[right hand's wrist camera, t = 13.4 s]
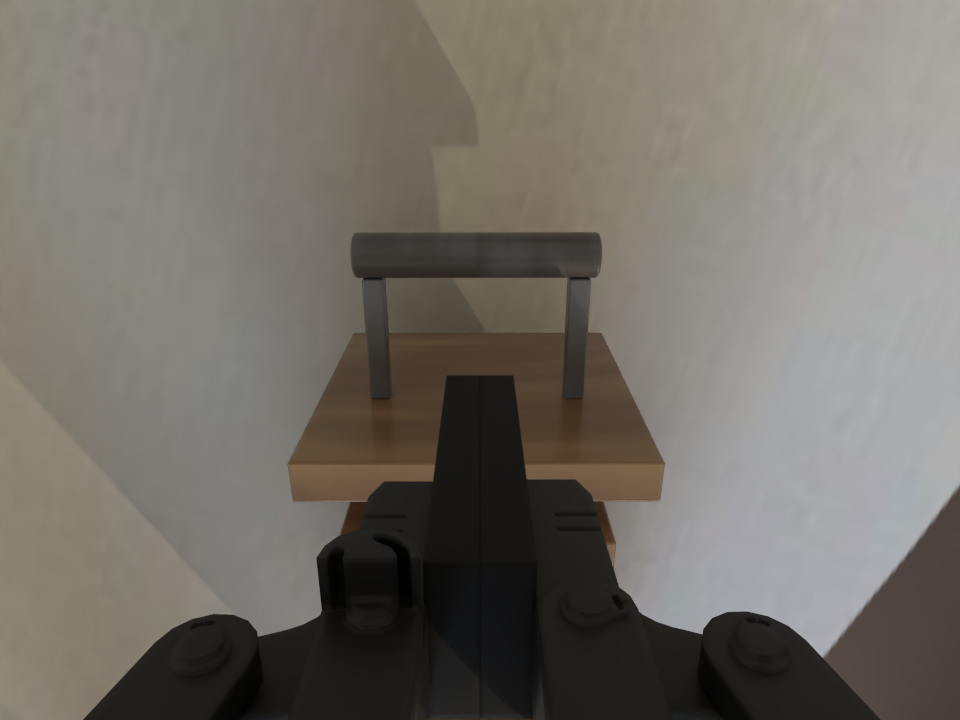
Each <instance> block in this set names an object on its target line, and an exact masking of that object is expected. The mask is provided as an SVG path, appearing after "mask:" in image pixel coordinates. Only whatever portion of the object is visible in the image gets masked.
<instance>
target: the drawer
mask: <svg viewBox="0 0 960 720" xmlns="http://www.w3.org/2000/svg"><path fill="white" fill-rule="evenodd" d="M601 261H602V244H601V238H600V235H599V234H598V233H596V232H550V233H355V234H354V235H353V237H352V241H351V264H352V270H353V273H354V275H355V277H357V278H364V279H363V280H362V288H363V302H364V315H365V329H366V333H354V334H353V336H352V338H351V340H350V342H349V344H348V346H347V348H346V350H345V352H344V354H343V356H342V358H341V360H340V362H339V364H338V366H337V368H336V369H335V371H334V373H333V375H332V377H331V379H330V381H329V383H328V385H327V387H326V389H325V391H324V393H323V395H322V397H321V399H320V401H319V403H318V405H317V407H316V409H315V411H314V413H313V415H312V417H311V419H310V421H309V423H308V425H307V427H306V429H305V431H304V433H303V435H302V437H301V439H300V441H299V443H298V445H297V447H296V449H295V450H294V452H293V454H292V456H291V458H290V460H289V462H288V469H289V476H290V484H291V491H292V499H293V501H294V502H350V504H349V508H348V511H347V514H346V517H345V521H344V524H343V527H342V530H341V533H340V536H341V535H343V534H346V533H349V532H352V531H355V530H359V527H360V524H361V521H362V518H363V514H364V510H365V507H366V503H367V500H368V497H369V496H370V495H371V494H372V493H373V492H374V491H375V490H376V489H377V488H378V487H379V486H380V485H381V484H382V483H383V482H384V481H433V478H434V470H435V462H436V454H437V446H438V439H439V431H440V423H441V415H442V407H443V400H444V392H445V384H446V376H447V375H513V376H514V384H515V392H516V400H517V407H518V415H519V423H520V431H521V439H522V446H523V454H524V462H525V470H526V478H527V479H576V480H577V481H578V482H579V483H580V484H581V485H582V486H583V487H584V488H585V489H586V490H587V491H588V492H589V493H590V494H591V495H592V497H593V501H594V504H595V508H596V511H597V516H598V518H599V521H600V525H601V531H603V535H604V538H605V542H606V545H607V548H608V552H609V555H610V559H611V562H612V566H613V568H614V558H615V548H616V542H615V539H614V535H613V532H612V528H611V525H610V522H609V518H608V515H607V511H606V508H605V505H604V501H660V497H661V489H662V481H663V473H664V465H665V463H664V461H663V459H662V457H661V455H660V453H659V450H658V448H657V446H656V444H655V442H654V440H653V438H652V436H651V434H650V432H649V430H648V428H647V426H646V424H645V422H644V420H643V417H642V415H641V413H640V411H639V409H638V407H637V405H636V403H635V401H634V399H633V397H632V395H631V393H630V391H629V389H628V387H627V385H626V382H625V380H624V378H623V376H622V374H621V372H620V370H619V368H618V366H617V364H616V362H615V360H614V358H613V356H612V354H611V352H610V349H609V347H608V345H607V343H606V341H605V339H604V337H603V335H602V333H588V319H589V304H590V289H591V280H590V278H595V277H597V276H598V275H599V272H600V268H601ZM385 278H568V282H567V301H566V320H565V333H389V332H388V315H387V298H386V281H385ZM427 718H428V716H427ZM532 718H533V713H532Z"/></svg>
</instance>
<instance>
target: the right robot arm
mask: <svg viewBox="0 0 960 720" xmlns="http://www.w3.org/2000/svg"><path fill="white" fill-rule="evenodd" d="M317 567H318V576H319V586H320V595H321V605H322V612H321V615H320V616H319V617H317V618H315V619H313V620H311V621H309V622H308V623H306V624H304V625H301V626H298V627H295V628H292V629H289V630H285V631H281V632H277V633H272V634H268V635H264V636H260V637H258V636H257V631H256V630H255V629H254V628H253V626H252V625H251V624H250V623H249V621H247V620H245V619H242V618H240V617H237V616H235V615H221V614H213V615H208V616H204V617H200V618H195V619H192V620H190V621H188V622H186V623H183V624H181V625H179V626H177V627H175V628H173V629H171V630H170V631H169V632H168V633H167V634H165V635H164V636H163V637H162V638H160V639H159V640H158V641H157V642H155V643H154V645H153V646H152V647H151V648H150V649H149V650H148V651H147V652H146V653H145V654H144V655H143V656H142V657H141V658H140V659H139V661H138V662H137V663H136V664H135V665H134V666H133V667H132V668H131V669H130V670H129V671H128V672H127V673H126V674H125V676H124V677H123V678H122V679H121V680H120V681H119V682H118V683H117V684H116V685H115V686H114V687H113V688H112V689H111V690H110V692H109V693H108V694H107V695H106V696H105V697H104V698H103V699H102V700H101V701H100V702H99V703H98V704H97V705H96V707H95V708H94V709H93V710H92V711H91V712H90V713H89V714H88V715H87V716H86V717H85V718H84V719H83V720H427V716H428V719H532V713H533V720H880V719H879V718H878V716H877V715H876V714H875V713H874V712H873V711H872V710H871V709H870V708H869V707H868V706H867V705H866V704H865V703H864V702H863V701H862V699H861V698H860V697H859V696H858V695H857V694H856V693H855V692H854V691H853V690H852V689H851V688H850V687H849V686H848V685H847V684H846V683H845V681H844V680H843V679H842V678H841V677H840V676H839V675H838V674H837V673H836V672H835V671H834V670H833V669H832V668H831V667H830V665H829V664H828V663H827V662H826V661H825V660H824V659H823V658H822V657H821V656H820V655H819V654H818V653H817V652H816V651H815V650H814V648H813V647H812V646H811V645H810V644H809V643H808V642H807V641H806V640H805V639H804V638H802V637H801V636H800V635H799V634H797V633H796V632H795V631H794V630H793V629H791V628H790V627H789V626H787V625H785V624H783V623H781V622H779V621H776V620H774V619H772V618H770V617H768V616H764V615H759V614H755V613H751V612H727V613H724V614H722V615H719V616H716V617H714V618H712V619H711V620H710V622H709V623H708V624H707V625H706V627H705V628H704V629H703V635H702V634H698V633H694V632H690V631H686V630H682V629H678V628H674V627H670V626H667V625H664V624H661V623H658V622H656V621H654V620H652V619H650V618H648V617H646V616H644V615H642V614H641V613H640V612H639V611H638V608H637V607H636V605H635V603H634V602H633V600H632V598H631V597H630V596H629V595H628V594H627V593H626V592H624V591H623V590H622V589H620V588H619V586H618V583H617V579H616V576H615V572H614V569H613V566H612V562H611V559H610V555H609V552H608V548H607V545H606V542H605V538H604V535H603V531H601V525H600V521H599V518H598V516H597V511H596V508H595V504H594V501H593V497H592V495H591V494H590V493H589V492H588V491H587V490H586V489H585V488H584V487H583V486H582V485H581V484H580V483H579V482H578V481H577V480H576V479H527V478H526V470H525V462H524V454H523V446H522V439H521V431H520V423H519V415H518V407H517V400H516V392H515V384H514V376H513V375H447V376H446V384H445V392H444V400H443V407H442V415H441V423H440V431H439V439H438V446H437V454H436V462H435V470H434V478H433V481H384V482H383V483H382V484H381V485H380V486H379V487H378V488H377V489H376V490H375V491H374V492H373V493H372V494H371V495H370V496H369V497H368V500H367V503H366V507H365V510H364V514H363V518H362V521H361V524H360V527H359V530H355V531H352V532H349V533H346V534H343V535H341V536H338V537H337V538H335V539H334V540H333V541H331V542H330V543H328V544H327V545H325V546H324V548H323V549H322V551H321V552H320V554H319V555H318V557H317Z"/></svg>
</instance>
